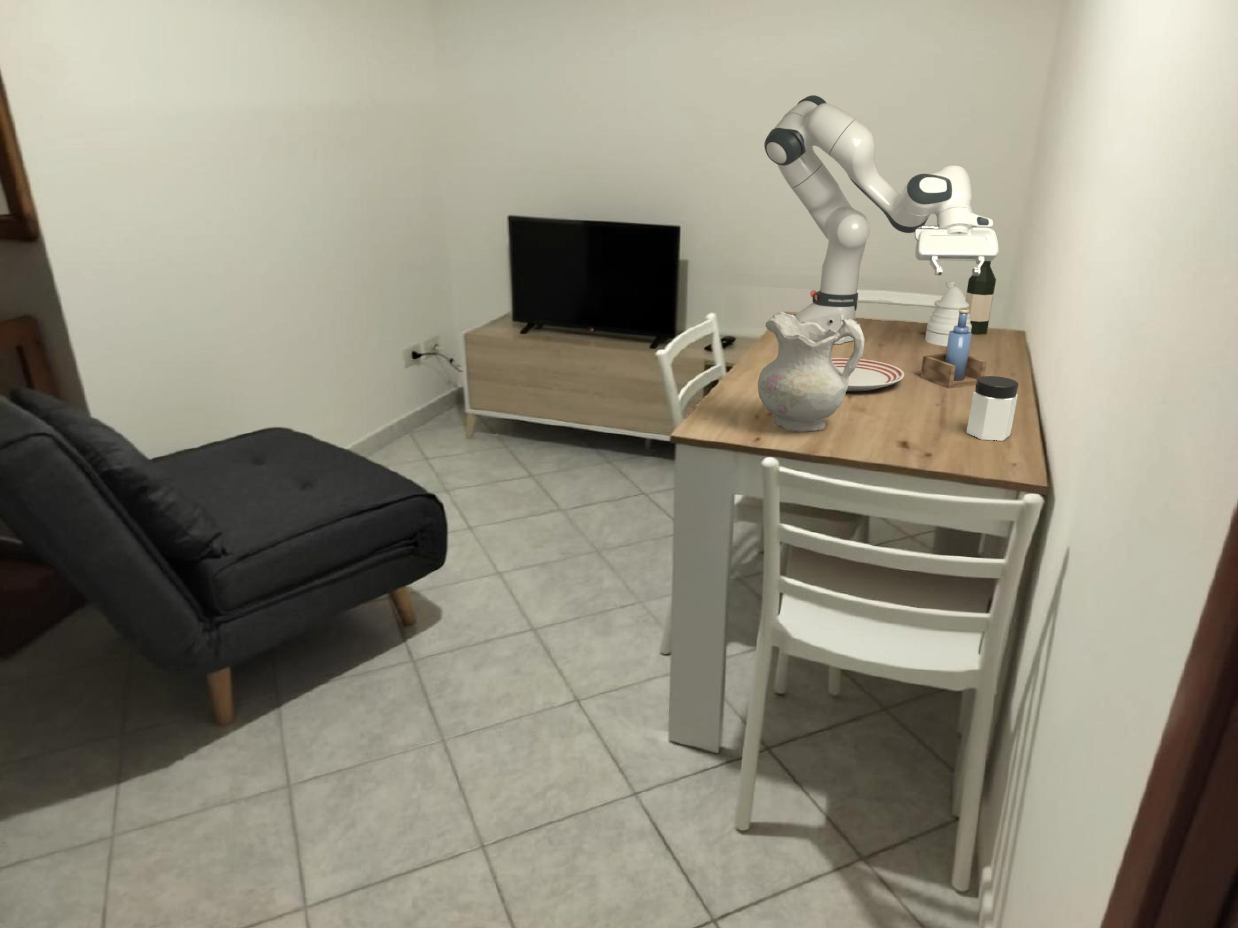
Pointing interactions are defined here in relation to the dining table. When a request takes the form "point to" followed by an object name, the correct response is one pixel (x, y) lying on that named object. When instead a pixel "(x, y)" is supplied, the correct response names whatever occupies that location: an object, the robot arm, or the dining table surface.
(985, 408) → the jar
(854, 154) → the robot arm
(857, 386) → the dinner plate
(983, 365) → the holder
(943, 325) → the honey pot
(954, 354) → the bottle
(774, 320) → the ceramic pitcher
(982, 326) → the wine bottle
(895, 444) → the dining table surface
